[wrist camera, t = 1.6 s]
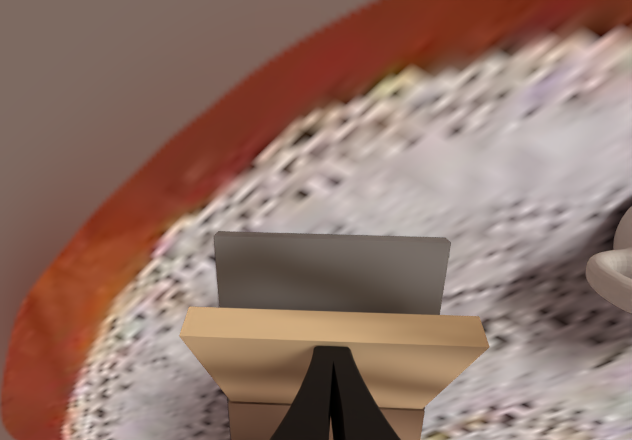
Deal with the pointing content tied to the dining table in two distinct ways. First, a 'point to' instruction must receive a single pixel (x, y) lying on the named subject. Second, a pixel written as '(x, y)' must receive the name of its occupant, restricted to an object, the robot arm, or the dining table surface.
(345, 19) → the dining table surface
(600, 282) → the cup
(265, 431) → the floor board
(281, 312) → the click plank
